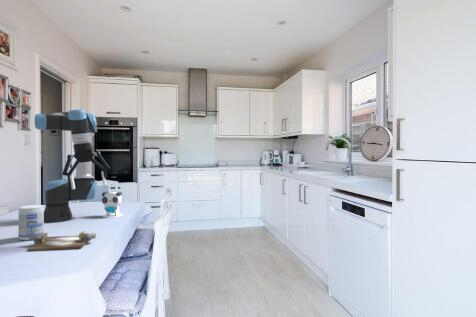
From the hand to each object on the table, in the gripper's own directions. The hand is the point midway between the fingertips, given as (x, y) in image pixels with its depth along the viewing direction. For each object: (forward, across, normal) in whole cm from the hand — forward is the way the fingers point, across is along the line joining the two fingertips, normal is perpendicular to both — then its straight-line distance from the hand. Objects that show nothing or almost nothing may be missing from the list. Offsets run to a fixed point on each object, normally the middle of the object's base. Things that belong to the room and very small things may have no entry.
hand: (89, 186), depth 136 cm
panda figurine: (+26, +2, +40) cm, 48 cm away
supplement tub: (+20, -28, +2) cm, 35 cm away
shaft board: (+22, -12, -12) cm, 27 cm away
